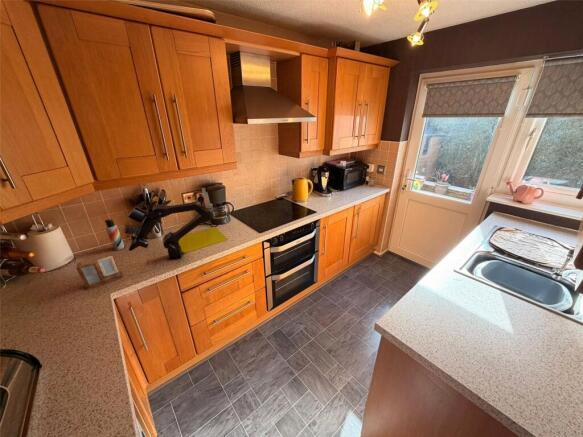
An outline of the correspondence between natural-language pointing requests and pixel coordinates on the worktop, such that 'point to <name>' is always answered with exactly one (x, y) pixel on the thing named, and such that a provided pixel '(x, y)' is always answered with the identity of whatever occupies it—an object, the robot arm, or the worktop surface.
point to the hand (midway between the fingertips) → (129, 250)
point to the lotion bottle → (114, 235)
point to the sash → (107, 266)
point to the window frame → (94, 275)
